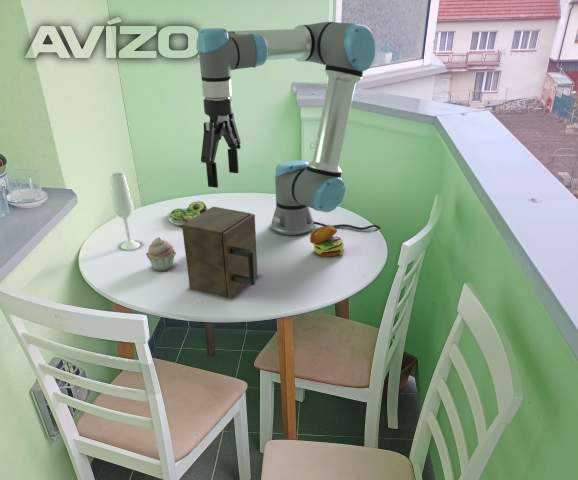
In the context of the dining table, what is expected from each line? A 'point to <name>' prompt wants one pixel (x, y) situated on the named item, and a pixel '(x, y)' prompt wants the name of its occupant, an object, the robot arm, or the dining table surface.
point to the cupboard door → (240, 255)
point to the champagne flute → (122, 205)
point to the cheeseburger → (326, 241)
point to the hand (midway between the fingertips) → (223, 179)
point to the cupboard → (208, 249)
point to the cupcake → (161, 255)
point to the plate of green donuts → (186, 213)
